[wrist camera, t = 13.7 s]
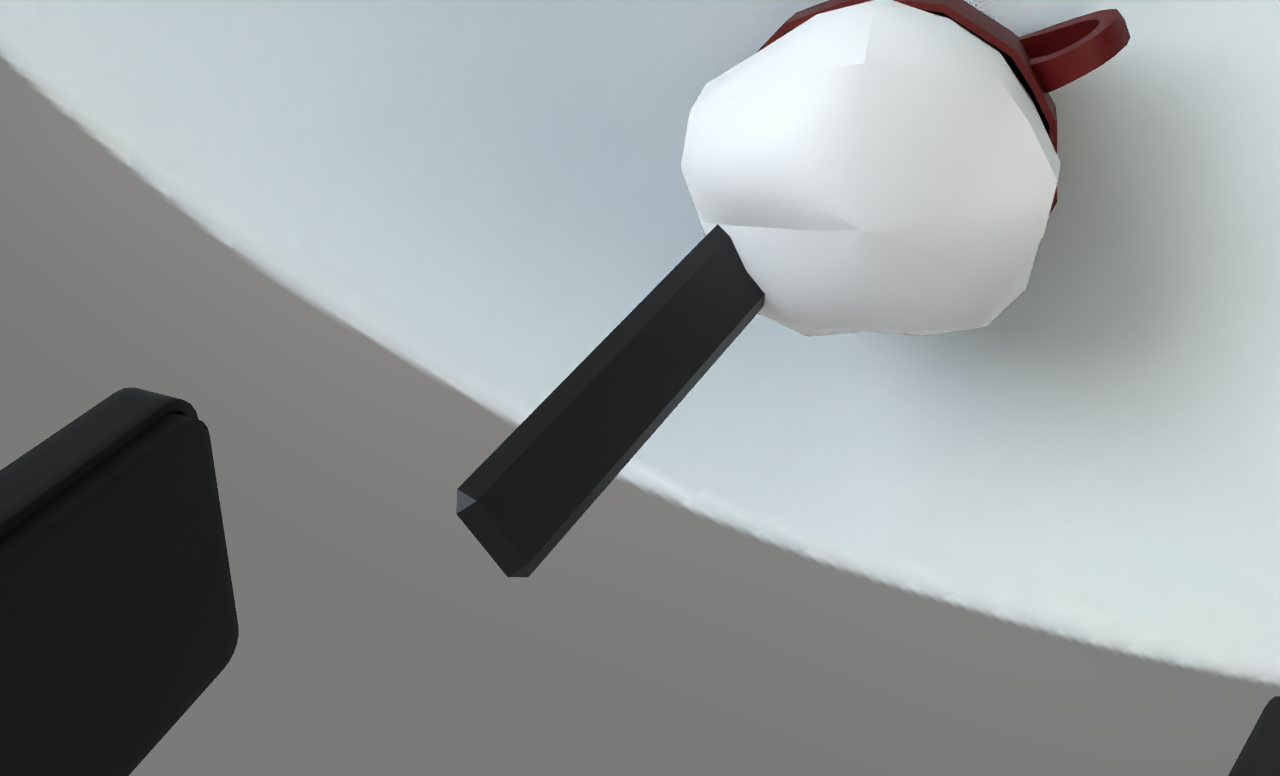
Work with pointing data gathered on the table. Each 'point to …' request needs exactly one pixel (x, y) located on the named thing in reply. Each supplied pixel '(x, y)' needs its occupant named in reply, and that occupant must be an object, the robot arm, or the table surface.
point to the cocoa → (814, 226)
